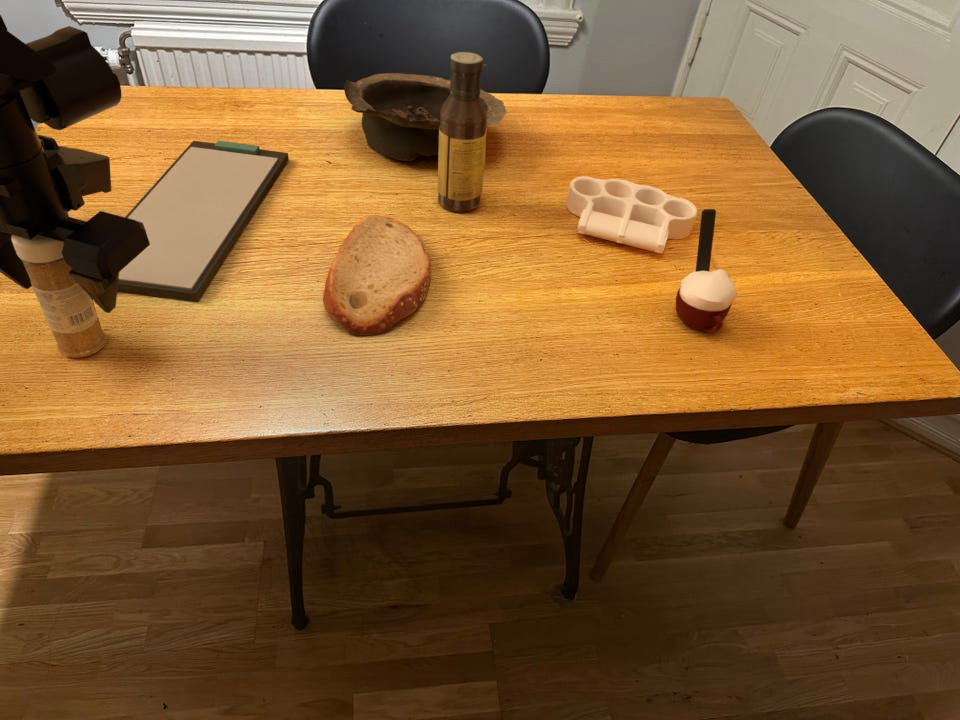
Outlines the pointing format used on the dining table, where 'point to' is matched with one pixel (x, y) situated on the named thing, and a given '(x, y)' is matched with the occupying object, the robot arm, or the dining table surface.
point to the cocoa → (705, 286)
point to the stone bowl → (407, 112)
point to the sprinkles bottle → (61, 297)
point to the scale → (198, 216)
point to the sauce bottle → (462, 136)
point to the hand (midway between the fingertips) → (70, 297)
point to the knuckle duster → (629, 212)
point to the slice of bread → (376, 276)
